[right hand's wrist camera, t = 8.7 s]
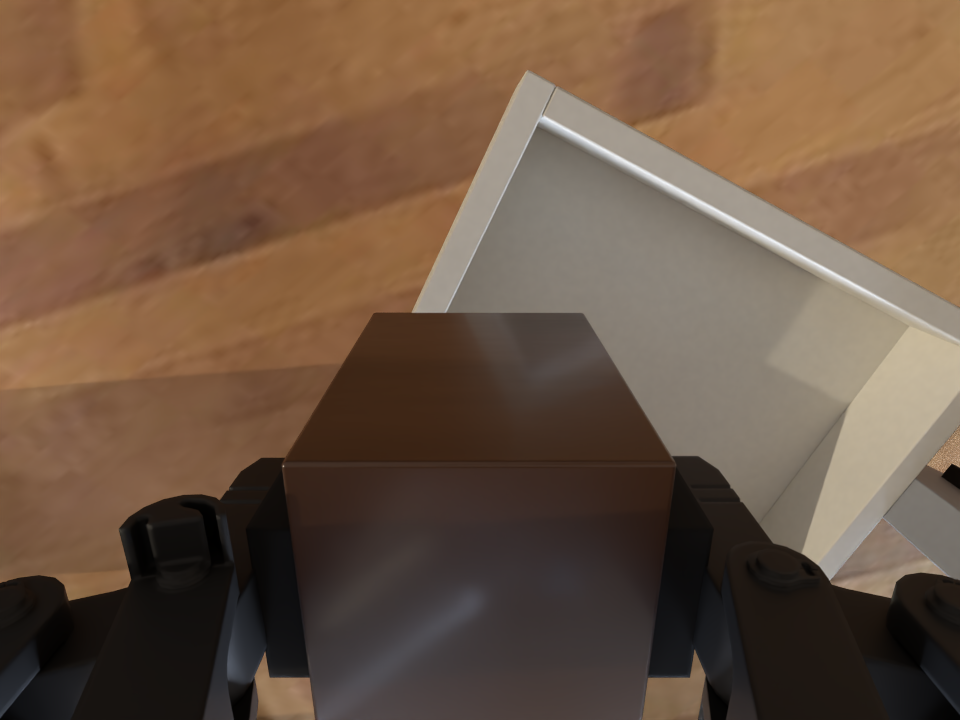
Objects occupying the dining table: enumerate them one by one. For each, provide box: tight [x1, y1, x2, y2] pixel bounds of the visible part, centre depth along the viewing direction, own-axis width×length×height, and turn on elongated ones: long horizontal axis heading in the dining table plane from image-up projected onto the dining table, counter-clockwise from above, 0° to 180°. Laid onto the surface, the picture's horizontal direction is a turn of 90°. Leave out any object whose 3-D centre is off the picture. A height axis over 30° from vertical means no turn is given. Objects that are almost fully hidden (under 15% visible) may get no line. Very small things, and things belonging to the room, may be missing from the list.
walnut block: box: [282, 313, 676, 720], centre depth 11 cm, size 5×5×7 cm
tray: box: [412, 70, 960, 581], centre depth 21 cm, size 29×14×12 cm, turn 64°
